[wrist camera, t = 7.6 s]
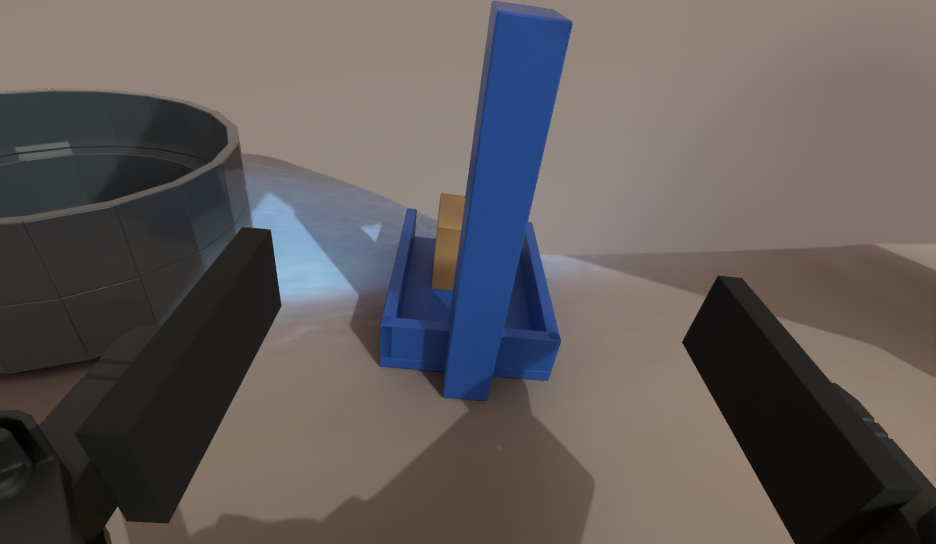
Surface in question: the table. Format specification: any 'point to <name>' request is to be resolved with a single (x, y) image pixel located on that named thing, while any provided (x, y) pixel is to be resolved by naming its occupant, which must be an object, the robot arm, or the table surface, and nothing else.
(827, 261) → the table surface
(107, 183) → the grey round bin
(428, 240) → the scoop
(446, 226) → the block
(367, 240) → the table surface
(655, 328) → the table surface
